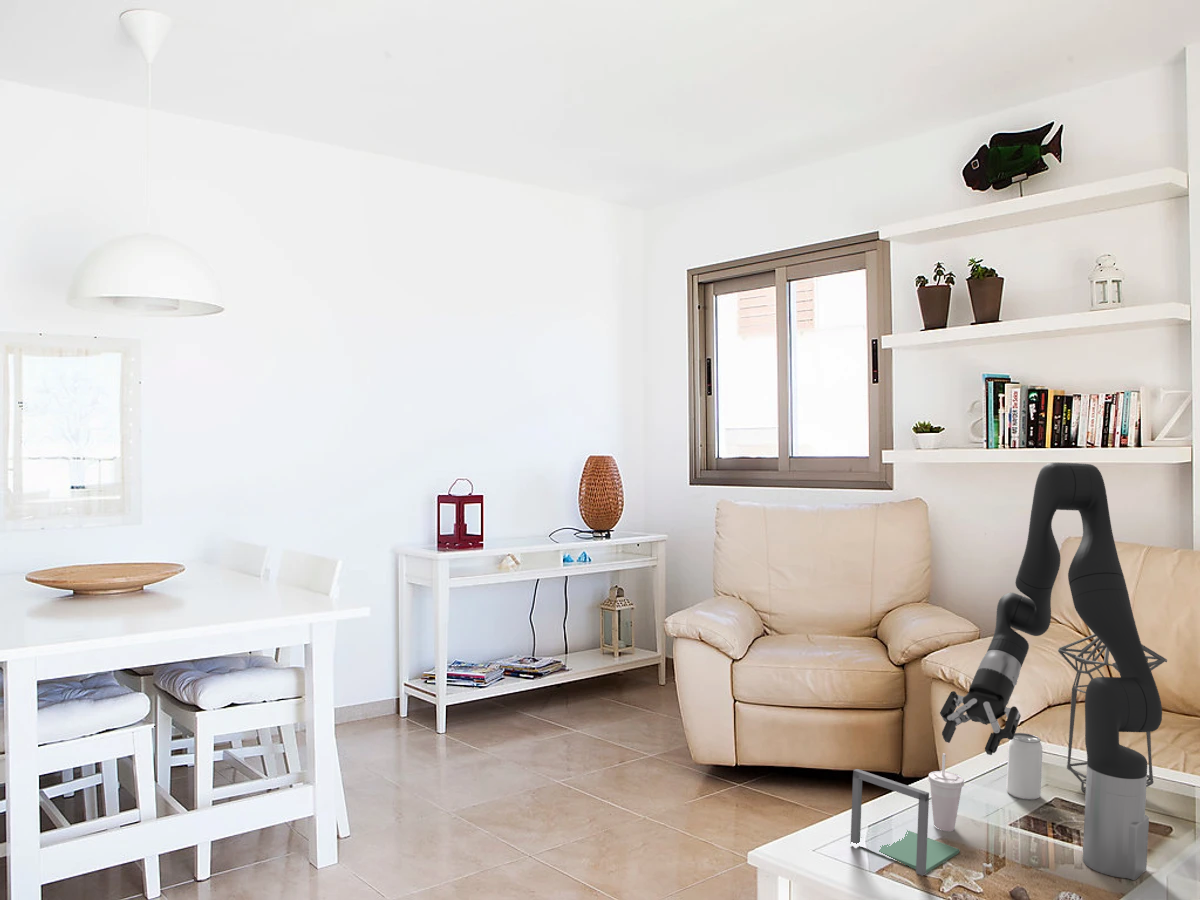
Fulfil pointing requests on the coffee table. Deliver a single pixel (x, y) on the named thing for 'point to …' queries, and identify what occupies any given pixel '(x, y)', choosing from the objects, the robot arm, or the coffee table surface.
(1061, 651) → the geometric lantern
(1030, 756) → the can
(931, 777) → the smoothie
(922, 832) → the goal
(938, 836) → the coffee table surface
